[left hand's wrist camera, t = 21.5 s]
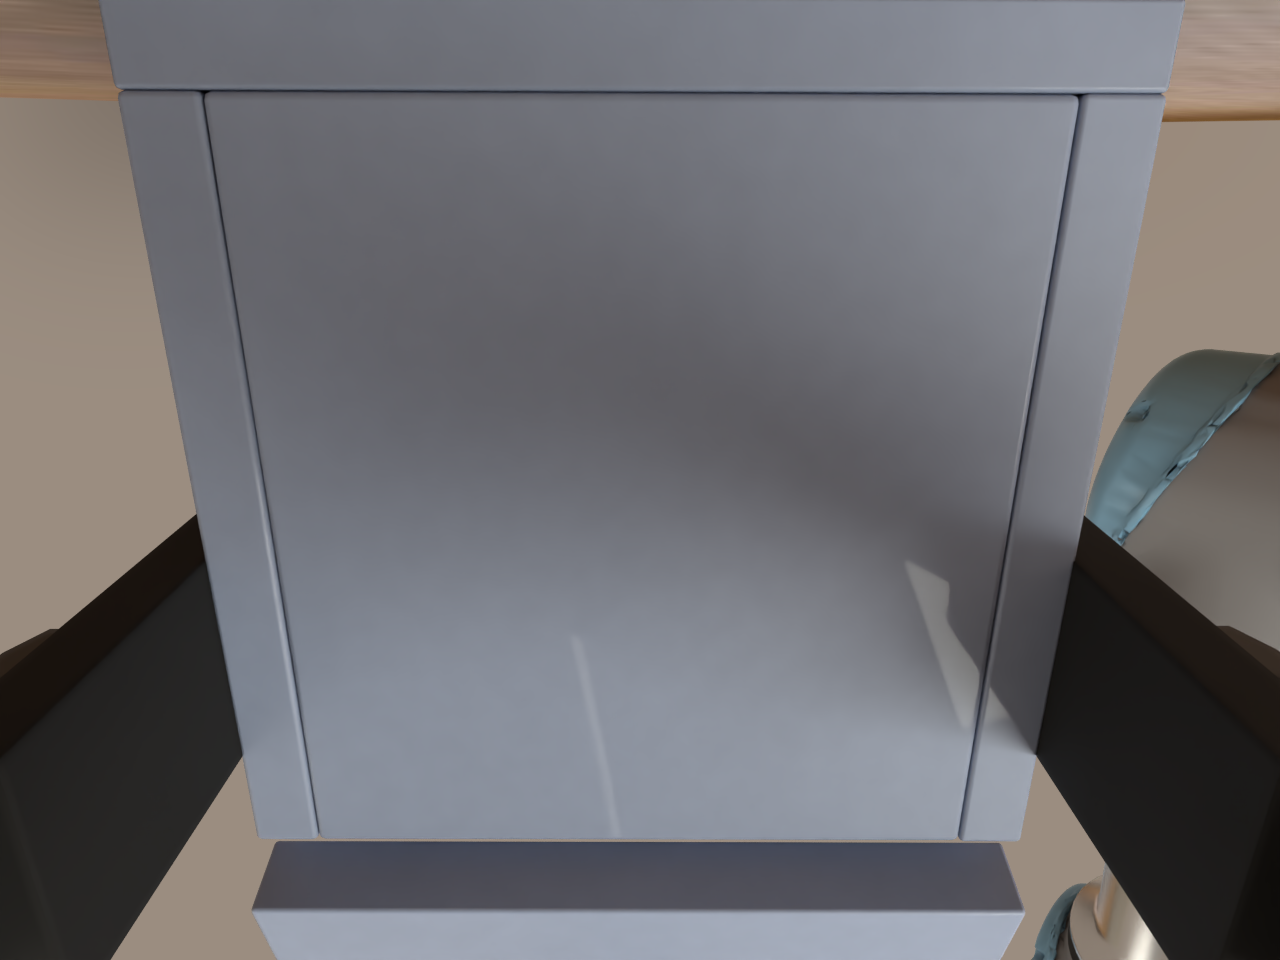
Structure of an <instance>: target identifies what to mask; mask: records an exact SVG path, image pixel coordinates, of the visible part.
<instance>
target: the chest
mask: <svg viewBox="0 0 1280 960" xmlns="http://www.w3.org/2000/svg"><path fill="white" fill-rule="evenodd" d="M98 1H99V6H100V11H101V16H102V22H103V27H104V32H105V38H106V43H107V48H108V53H109V59H110V64H111V69H112V75H113V80H114V84H115V86H116V87H117V88H119V89H122V90H124V91H122V92H120V93H119V95H118V101H119V106H120V111H121V117H122V122H123V127H124V132H125V138H126V143H127V148H128V154H129V159H130V164H131V170H132V175H133V180H134V185H135V191H136V196H137V201H138V207H139V212H140V217H141V222H142V228H143V233H144V238H145V243H146V249H147V254H148V259H149V264H150V270H151V275H152V280H153V286H154V291H155V296H156V301H157V307H158V312H159V318H160V323H161V328H162V333H163V339H164V344H165V349H166V355H167V360H168V365H169V370H170V376H171V381H172V386H173V392H174V397H175V402H176V407H177V413H178V418H179V423H180V428H181V433H182V439H183V444H184V450H185V455H186V460H187V465H188V471H189V476H190V481H191V487H192V492H193V497H194V503H195V508H196V513H197V518H198V524H199V529H200V534H201V540H202V545H203V550H204V555H205V561H206V566H207V571H208V577H209V582H210V587H211V592H212V598H213V603H214V608H215V614H216V619H217V624H218V629H219V635H220V640H221V645H222V650H223V655H224V660H225V666H226V671H227V676H228V681H229V686H230V692H231V697H232V702H233V707H234V712H235V718H236V723H237V728H238V733H239V738H240V744H241V749H242V754H243V762H244V767H245V772H246V777H247V783H248V788H249V793H250V799H251V804H252V809H253V814H254V820H255V825H256V830H257V835H258V837H259V838H261V839H314V838H316V837H317V836H318V835H319V833H320V835H321V837H323V838H366V839H368V838H369V839H370V838H371V839H784V840H792V839H793V840H953V839H956V837H957V836H958V837H959V839H960V840H962V841H1018V840H1019V839H1020V836H1021V831H1022V826H1023V821H1024V816H1025V811H1026V805H1027V800H1028V795H1029V790H1030V785H1031V780H1032V775H1033V770H1034V765H1035V760H1036V753H1037V748H1038V743H1039V738H1040V733H1041V728H1042V722H1043V717H1044V712H1045V707H1046V702H1047V697H1048V692H1049V686H1050V681H1051V676H1052V671H1053V666H1054V661H1055V655H1056V650H1057V645H1058V640H1059V635H1060V630H1061V624H1062V619H1063V614H1064V609H1065V604H1066V599H1067V594H1068V588H1069V583H1070V578H1071V573H1072V568H1073V563H1074V561H1075V557H1076V552H1077V547H1078V542H1079V537H1080V532H1081V527H1082V522H1083V517H1084V512H1085V507H1086V502H1087V496H1088V491H1089V486H1090V481H1091V476H1092V471H1093V466H1094V461H1095V456H1096V451H1097V446H1098V441H1099V436H1100V431H1101V426H1102V421H1103V415H1104V410H1105V405H1106V400H1107V395H1108V390H1109V385H1110V380H1111V375H1112V370H1113V365H1114V360H1115V355H1116V350H1117V345H1118V339H1119V334H1120V329H1121V324H1122V319H1123V314H1124V309H1125V304H1126V299H1127V294H1128V289H1129V284H1130V279H1131V274H1132V269H1133V264H1134V258H1135V253H1136V248H1137V243H1138V238H1139V233H1140V228H1141V223H1142V218H1143V213H1144V208H1145V203H1146V198H1147V192H1148V188H1149V182H1150V177H1151V172H1152V167H1153V162H1154V157H1155V152H1156V147H1157V142H1158V137H1159V131H1160V127H1161V122H1162V117H1163V112H1164V106H1165V101H1166V99H1165V96H1163V95H1161V93H1164V92H1166V91H1167V89H1168V87H1169V83H1170V78H1171V73H1172V67H1173V62H1174V57H1175V52H1176V47H1177V42H1178V37H1179V32H1180V27H1181V22H1182V17H1183V12H1184V7H1185V0H98Z"/></svg>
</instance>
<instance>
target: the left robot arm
mask: <svg viewBox="0 0 1280 960" xmlns="http://www.w3.org/2000/svg"><path fill="white" fill-rule="evenodd" d="M242 756H243V754H242V749H241V744H240V738H239V733H238V728H237V723H236V718H235V712H234V707H233V702H232V697H231V692H230V686H229V681H228V676H227V671H226V666H225V660H224V655H223V650H222V645H221V640H220V635H219V629H218V624H217V619H216V614H215V608H214V603H213V598H212V592H211V587H210V582H209V577H208V571H207V566H206V561H205V555H204V550H203V545H202V540H201V534H200V529H199V524H198V518H197V514H196V515H195V516H194V517H192V518H191V519H190V520H189V521H188V522H186V523H185V524H184V525H183V526H182V527H180V528H179V529H178V530H177V531H176V532H174V533H173V534H172V535H171V536H170V537H168V538H167V539H166V540H165V541H164V542H162V543H161V544H160V545H159V546H158V547H156V548H155V549H154V550H153V551H152V552H150V553H149V554H148V555H147V556H146V557H144V558H143V559H142V560H141V561H140V562H138V563H137V564H136V565H135V566H134V567H132V568H131V569H130V570H129V571H128V572H126V573H125V574H124V575H123V576H122V577H120V578H119V579H118V580H117V581H116V582H114V583H113V584H112V585H111V586H110V587H108V588H107V589H106V590H105V591H104V592H103V593H101V594H100V595H99V596H98V597H96V598H95V599H94V600H93V601H92V602H90V603H89V604H88V605H87V606H86V607H85V608H83V609H82V610H81V611H80V612H79V613H77V614H76V615H75V616H74V617H73V618H71V619H70V620H69V621H68V622H67V623H65V624H64V625H63V626H62V627H61V628H59V629H49V630H47V631H45V632H43V633H41V634H39V635H37V636H35V637H33V638H31V639H29V640H27V641H25V642H23V643H21V644H20V645H18V646H15V647H14V648H12V649H10V650H8V651H6V652H4V653H2V654H1V655H0V960H111V958H112V957H113V955H114V953H115V952H116V950H117V949H118V947H119V946H120V944H121V943H122V941H123V940H124V938H125V936H126V935H127V933H128V932H129V930H130V929H131V927H132V926H133V924H134V923H135V921H136V920H137V918H138V916H139V915H140V913H141V912H142V910H143V909H144V907H145V906H146V904H147V903H148V901H149V899H150V898H151V896H152V895H153V893H154V892H155V890H156V889H157V887H158V886H159V884H160V882H161V881H162V879H163V878H164V876H165V875H166V873H167V872H168V870H169V869H170V867H171V866H172V864H173V862H174V861H175V859H176V858H177V856H178V855H179V853H180V852H181V850H182V849H183V847H184V845H185V844H186V842H187V841H188V839H189V838H190V836H191V835H192V833H193V832H194V830H195V829H196V827H197V825H198V824H199V822H200V821H201V819H202V818H203V816H204V815H205V813H206V812H207V810H208V808H209V807H210V805H211V804H212V802H213V801H214V799H215V798H216V796H217V795H218V793H219V791H220V790H221V788H222V787H223V785H224V784H225V782H226V781H227V779H228V777H229V776H230V775H231V773H232V771H233V770H234V768H235V767H236V765H237V764H238V762H239V761H240V759H241V758H242ZM1036 756H1037V757H1038V759H1039V761H1040V762H1041V764H1042V765H1043V767H1044V768H1045V770H1046V771H1047V773H1048V774H1049V776H1050V777H1051V779H1052V781H1053V782H1054V784H1055V785H1056V787H1057V788H1058V790H1059V791H1060V793H1061V795H1062V796H1063V798H1064V799H1065V801H1066V802H1067V804H1068V805H1069V807H1070V808H1071V810H1072V812H1073V813H1074V815H1075V816H1076V818H1077V819H1078V821H1079V822H1080V824H1081V825H1082V827H1083V828H1084V830H1085V832H1086V833H1087V835H1088V836H1089V838H1090V839H1091V841H1092V842H1093V844H1094V845H1095V847H1096V849H1097V850H1098V852H1099V853H1100V855H1101V856H1102V858H1103V859H1104V861H1105V862H1106V864H1107V866H1108V867H1109V869H1110V870H1111V872H1112V873H1113V875H1114V876H1115V878H1116V879H1117V881H1118V883H1119V884H1120V886H1121V887H1122V889H1123V890H1124V892H1125V893H1126V895H1127V896H1128V898H1129V899H1130V901H1131V903H1132V904H1133V906H1134V907H1135V909H1136V910H1137V912H1138V913H1139V915H1140V916H1141V918H1142V920H1143V921H1144V923H1145V924H1146V926H1147V927H1148V929H1149V930H1150V932H1151V933H1152V935H1153V937H1154V938H1155V940H1156V941H1157V943H1158V944H1159V946H1160V947H1161V949H1162V950H1163V952H1164V954H1165V955H1166V957H1167V958H1168V960H1280V652H1279V651H1278V650H1277V649H1275V648H1273V647H1271V646H1269V645H1267V644H1265V643H1263V642H1261V641H1259V640H1257V639H1255V638H1253V637H1251V636H1249V635H1247V634H1245V633H1243V632H1241V631H1239V630H1237V629H1235V628H1233V627H1231V626H1216V625H1215V624H1214V623H1212V622H1211V621H1210V620H1209V619H1208V618H1206V617H1205V616H1204V615H1203V614H1202V613H1200V612H1199V611H1198V610H1197V609H1196V608H1194V607H1193V606H1192V605H1191V604H1190V603H1188V602H1187V601H1186V600H1185V599H1184V598H1182V597H1181V596H1180V595H1179V594H1178V593H1176V592H1175V591H1174V590H1173V589H1172V588H1170V587H1169V586H1168V585H1167V584H1166V583H1164V582H1163V581H1162V580H1161V579H1160V578H1158V577H1157V576H1156V575H1155V574H1154V573H1152V572H1151V571H1150V570H1149V569H1148V568H1146V567H1145V566H1144V565H1143V564H1142V563H1141V562H1139V561H1138V560H1137V559H1136V558H1135V557H1133V556H1132V555H1131V554H1130V553H1129V552H1127V551H1126V550H1125V549H1124V548H1123V547H1121V546H1120V545H1119V544H1118V543H1117V542H1115V541H1114V540H1113V539H1112V538H1111V537H1109V536H1108V535H1107V534H1106V533H1105V532H1103V531H1102V530H1101V529H1100V528H1099V527H1097V526H1096V525H1095V524H1094V523H1093V522H1091V521H1090V520H1089V519H1088V518H1087V517H1085V516H1084V517H1083V522H1082V527H1081V532H1080V537H1079V542H1078V547H1077V552H1076V557H1075V561H1074V563H1073V568H1072V573H1071V578H1070V583H1069V588H1068V594H1067V599H1066V604H1065V609H1064V614H1063V619H1062V624H1061V630H1060V635H1059V640H1058V645H1057V650H1056V655H1055V661H1054V666H1053V671H1052V676H1051V681H1050V686H1049V692H1048V697H1047V702H1046V707H1045V712H1044V717H1043V722H1042V728H1041V733H1040V738H1039V743H1038V748H1037V753H1036Z"/></svg>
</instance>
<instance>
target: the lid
mask: <svg viewBox="0 0 1280 960" xmlns="http://www.w3.org/2000/svg"><path fill="white" fill-rule="evenodd" d="M252 914H253V916H254V917H255V919H256V921H257V923H258V925H259V927H260V929H261V931H262V933H263V934H264V936H265V938H266V940H267V942H268V944H269V946H270V948H271V950H272V952H273V953H274V955H275V957H276V959H277V960H1000V959H1001V958H1002V956H1003V954H1004V952H1005V950H1006V948H1007V946H1008V945H1009V943H1010V941H1011V939H1012V937H1013V935H1014V933H1015V932H1016V930H1017V928H1018V926H1019V924H1020V922H1021V921H1022V919H1023V917H1024V915H1025V909H1024V906H1023V904H1022V901H1021V898H1020V895H1019V892H1018V889H1017V887H1016V884H1015V881H1014V878H1013V875H1012V873H1011V870H1010V867H1009V864H1008V861H1007V858H1006V856H1005V853H1004V850H1003V847H1002V845H1001V844H1000V843H810V842H807V843H806V842H805V843H804V842H390V841H385V842H384V841H383V842H382V841H381V842H380V841H278V842H276V844H275V845H274V848H273V851H272V854H271V857H270V859H269V862H268V865H267V868H266V871H265V873H264V876H263V879H262V882H261V885H260V887H259V890H258V893H257V896H256V898H255V901H254V904H253V907H252Z"/></svg>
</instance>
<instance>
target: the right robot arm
mask: <svg viewBox="0 0 1280 960" xmlns="http://www.w3.org/2000/svg"><path fill="white" fill-rule="evenodd" d="M1085 517H1087V518H1088V519H1089V520H1090V521H1091V522H1093V523H1094V524H1095V525H1096V526H1097V527H1099V528H1100V529H1101V530H1102V531H1103V532H1105V533H1106V534H1107V535H1108V536H1109V537H1111V538H1112V539H1113V540H1114V541H1115V542H1117V543H1118V544H1119V545H1120V546H1121V547H1123V548H1124V549H1125V550H1126V551H1127V552H1129V553H1130V554H1131V555H1132V556H1133V557H1135V558H1136V559H1137V560H1138V561H1139V562H1141V563H1142V564H1143V565H1144V566H1145V567H1146V568H1148V569H1149V570H1150V571H1151V572H1152V573H1154V574H1155V575H1156V576H1157V577H1158V578H1160V579H1161V580H1162V581H1163V582H1164V583H1166V584H1167V585H1168V586H1169V587H1170V588H1172V589H1173V590H1174V591H1175V592H1176V593H1178V594H1179V595H1180V596H1181V597H1182V598H1184V599H1185V600H1186V601H1187V602H1188V603H1190V604H1191V605H1192V606H1193V607H1194V608H1196V609H1197V610H1198V611H1199V612H1200V613H1202V614H1203V615H1204V616H1205V617H1206V618H1208V619H1209V620H1210V621H1211V622H1212V623H1214V624H1215V625H1216V626H1231V627H1233V628H1235V629H1237V630H1239V631H1241V632H1243V633H1245V634H1247V635H1249V636H1251V637H1253V638H1255V639H1257V640H1259V641H1261V642H1263V643H1265V644H1267V645H1269V646H1271V647H1273V648H1275V649H1277V650H1278V651H1279V652H1280V353H1276V354H1274V355H1264V354H1254V353H1244V352H1233V351H1223V350H1213V349H1205V350H1197V351H1193V352H1189V353H1186V354H1184V355H1182V356H1180V357H1178V358H1176V359H1174V360H1173V361H1171V362H1170V363H1169V364H1167V365H1166V366H1165V367H1163V368H1162V369H1161V370H1160V371H1159V372H1158V373H1157V374H1156V375H1155V376H1154V377H1153V378H1152V379H1151V380H1150V382H1149V383H1148V384H1147V385H1146V387H1145V388H1144V389H1143V390H1142V391H1141V393H1140V394H1139V396H1138V397H1137V398H1136V400H1135V401H1134V403H1133V404H1132V406H1131V407H1130V409H1129V410H1128V412H1127V414H1126V416H1125V417H1124V419H1123V421H1122V422H1121V424H1120V426H1119V428H1118V429H1117V431H1116V433H1115V435H1114V437H1113V439H1112V441H1111V443H1110V445H1109V447H1108V449H1107V451H1106V453H1105V456H1104V458H1103V460H1102V463H1101V465H1100V468H1099V470H1098V473H1097V475H1096V478H1095V481H1094V484H1093V487H1092V490H1091V494H1090V497H1089V501H1088V505H1087V510H1086V515H1085ZM1035 948H1036V951H1035V955H1034V957H1033V958H1032V959H1031V960H1168V958H1167V957H1166V955H1165V954H1164V952H1163V950H1162V949H1161V947H1160V946H1159V944H1158V943H1157V941H1156V940H1155V938H1154V937H1153V935H1152V933H1151V932H1150V930H1149V929H1148V927H1147V926H1146V924H1145V923H1144V921H1143V920H1142V918H1141V916H1140V915H1139V913H1138V912H1137V910H1136V909H1135V907H1134V906H1133V904H1132V903H1131V901H1130V899H1129V898H1128V896H1127V895H1126V893H1125V892H1124V890H1123V889H1122V887H1121V886H1120V884H1119V883H1118V881H1117V879H1116V878H1115V876H1114V875H1113V873H1112V872H1111V870H1110V869H1109V867H1108V866H1107V864H1106V862H1105V866H1104V872H1103V875H1102V876H1099V877H1097V878H1095V879H1094V880H1092V881H1090V882H1089V883H1088V884H1077V885H1074V886H1072V887H1070V888H1069V889H1067V890H1066V891H1065V892H1064V893H1063V894H1062V895H1061V896H1060V897H1059V898H1058V900H1057V901H1056V902H1055V904H1054V905H1053V907H1052V908H1051V910H1050V911H1049V913H1048V915H1047V917H1046V919H1045V921H1044V923H1043V925H1042V927H1041V930H1040V932H1039V934H1038V937H1037V940H1036V944H1035Z"/></svg>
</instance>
